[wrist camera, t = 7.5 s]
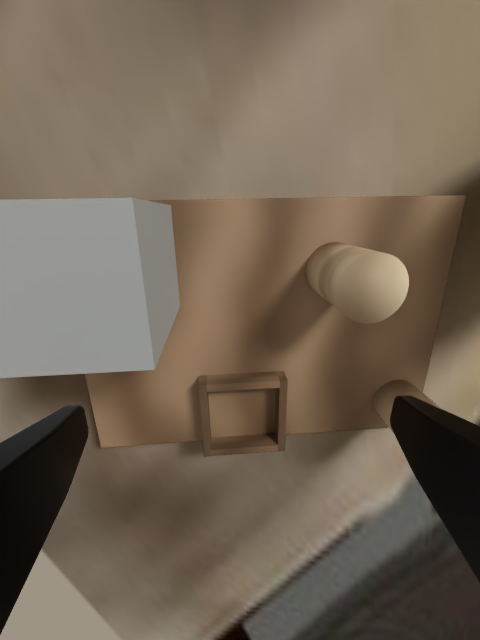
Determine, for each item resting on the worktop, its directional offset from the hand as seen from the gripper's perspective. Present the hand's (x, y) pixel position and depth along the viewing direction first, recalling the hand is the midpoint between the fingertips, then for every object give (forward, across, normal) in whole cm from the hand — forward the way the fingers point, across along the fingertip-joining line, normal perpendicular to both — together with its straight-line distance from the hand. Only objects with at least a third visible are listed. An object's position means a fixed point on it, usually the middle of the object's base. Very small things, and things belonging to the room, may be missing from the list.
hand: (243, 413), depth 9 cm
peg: (+10, -6, -2) cm, 12 cm away
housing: (+10, +6, -3) cm, 12 cm away
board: (+12, -2, +2) cm, 12 cm away
